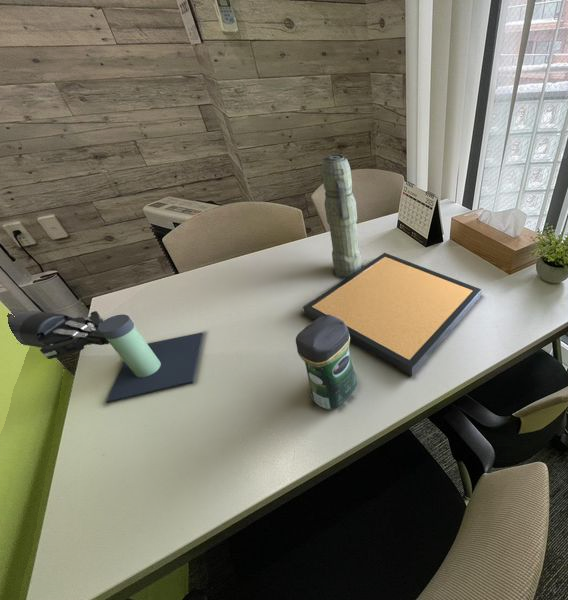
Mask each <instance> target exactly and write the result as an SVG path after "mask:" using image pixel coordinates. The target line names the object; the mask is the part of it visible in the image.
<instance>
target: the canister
mask: <svg viewBox="0 0 568 600" xmlns="http://www.w3.org/2000/svg"><path fill="white" fill-rule="evenodd" d="M98 330H99V332H100V333H101V334H102V335H103V336H104V338H106V339H107V340H108V342H109V344H110V346H111V347H112V348H113V349H114V351H115V352H116V353H117V354H118V356H119V357H120V358H121V359H122V360H123V362H125V363H126V364H127V365H128V366H129V368H130V369H131V370H132V371H133V373H134V374H135V375H136V376H137V377H146V376H149V375H151V374H153V373H155V372H156V371H157V370H158V369H159V368H160V365H161V363H160V361H159V360H158V358H157V357H156V355H155V354H154V353H153V351H152V350H151V348H150V347H149V345H148V342H147V341H146V340H145V338H144V337H143V335H142V334H141V333H140V331H139V330H138V329H137V327H136V325H135V323H134V322H133V320H132V319H131V318H130V316H129V315H127V314H115V315H112V316H110V317H108V318H105V319H103V322H102V323H100V325H99V326H98Z"/></svg>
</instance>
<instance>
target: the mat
mask: <svg viewBox="0 0 568 600" xmlns="http://www.w3.org/2000/svg"><path fill="white" fill-rule="evenodd" d="M203 336H204V333H203V332H198V333H193V334H188V335H182V336H177V337H174V338H168V339H163V340H158V341H153V342H149V343H148V342H147V344H148V345H149V347H150V348H151V350H152V351H153V353H154V354H155V355H156V357H157V358H158V360H159V361H160V363H161V365H160V368H159V369H158V370H157V371H156V372H155V373H153V374H151V375H149V376H146V377H137V376H136V375H135V374H134V373H133V371H132V370H131V369H130V368H129V366H128V365H127V364H126V363H125V362H124V361H123V362H122V365H121V367H120V369H119V372H118V374H117V376H116V378H115V380H114V383H113V386H112V387H111V390H110V392H109V395H108V397H107V399H106V402H107V403H108V404H110V403H113V402H118V401H122V400H123V401H124V400H126V399H131V398H135V397H139V396H143V395H147V394H151V393H156V392H160V391H164V390H168V389H172V388H177V387H181V386H186V385H189V384H193V383H194V381H195V376H196V372H197V366H198V361H199V356H200V352H201V347H202V341H203Z"/></svg>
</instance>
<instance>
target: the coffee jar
mask: <svg viewBox="0 0 568 600" xmlns="http://www.w3.org/2000/svg"><path fill="white" fill-rule="evenodd" d="M350 342H351V341H350V335H349V332H348V328H347V326H346V324H345V323H344V322H343V321H342V320H340V319H339V318H337V317H335V316H332V315H329V314H327V315H325V316H322V317H320V318H318V319H316V320H313V321H312V322H311V323H309V324H308V325H306V326H305V327H304V328H303V329H302V330H301V331H300V332H299V333H297V335H296V336H295V345H296V351H297V354H298V357H300V359H301V360H302V361H303V362H304V365H305V368H306V373H307V379H308V386H309V392H310V397H311V399H312V400H313V402H314V403H315V404H316V405H318V406H319V407H321V408H323V409H325V410H335V409H337V408H340V406H341V405H343V404H344V403H345V402H346V401H347V400H348V399H349V398H350V397H351V395H352V394H353V393H354V391H355V390H356V388H357V386H358V378H357V374H356V371H355V368H354V365H353V361H352V358H351V353H350Z"/></svg>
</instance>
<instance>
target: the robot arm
mask: <svg viewBox="0 0 568 600" xmlns="http://www.w3.org/2000/svg"><path fill="white" fill-rule="evenodd" d="M8 309H9V310H10V311H11V313H12V314H13V315H12V314H9V313H8V315H7V317H8V324H9V327H10V329H11V331H12V333H13V334H14V336H15V337H16V339H17V340H18V341H19V342H20V343H21V344H23V345H22V346H27V347H34V348H39V352H40V353H41V354H42V355H44V357H46V359H48V360H52V359H55V358H59V357H62V356H66V355H69V354H73V353H76V352H80V351H84V349H85V346H91V345H97V346H104V345H109V344H110V343H109V342H108V340H107V339H106V338H104V336H103V335H102V334H101V333H100V332H99V330H98V326H99V325H100V323H102V322H103V321H104V319H103V317H102V316H101V314H100V313H98V310H94V311H92V312H90V314H89V316H87V317H82V316H78V317H72V316H69V315H66V314H64V313H63V314H62V313H54V312H47V311H38V310H37V311H36V310H20V309H12V308H8ZM14 316H15V317H14ZM89 324H91V325H92V326H90V325H89ZM21 344H20V345H21ZM70 346H72V347H70Z"/></svg>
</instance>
